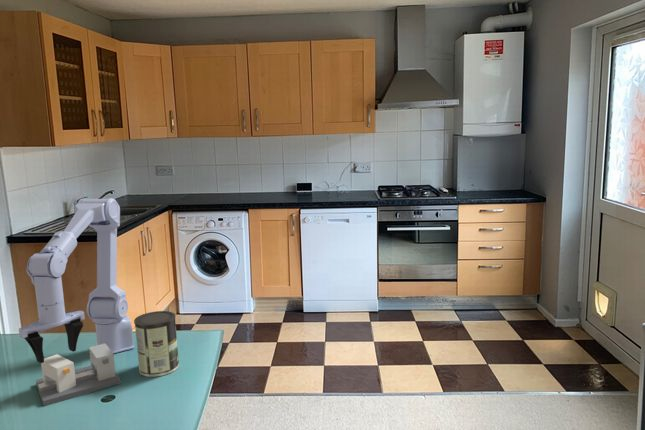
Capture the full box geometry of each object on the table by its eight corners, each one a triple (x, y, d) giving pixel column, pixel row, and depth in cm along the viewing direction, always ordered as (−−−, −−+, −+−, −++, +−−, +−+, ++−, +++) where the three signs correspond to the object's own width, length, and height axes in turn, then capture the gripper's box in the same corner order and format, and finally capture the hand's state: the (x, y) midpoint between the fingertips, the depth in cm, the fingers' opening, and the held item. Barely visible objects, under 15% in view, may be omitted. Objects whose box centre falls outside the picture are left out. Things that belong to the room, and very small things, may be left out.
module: (59, 376, 130) (57, 354, 129) (77, 386, 124) (74, 363, 123) (43, 382, 126) (40, 359, 126) (60, 393, 121) (58, 369, 120)
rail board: (107, 365, 138) (105, 340, 137) (120, 383, 127) (117, 356, 126) (36, 384, 128) (33, 357, 127) (43, 405, 118) (40, 376, 117)
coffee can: (166, 356, 143) (162, 307, 140) (186, 367, 136) (183, 316, 133) (131, 369, 135) (126, 318, 133) (151, 381, 128) (146, 327, 126)
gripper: (72, 291, 130) (77, 342, 132) (10, 307, 119) (17, 362, 121) (86, 296, 126) (92, 348, 128) (23, 313, 115) (31, 370, 117)
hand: (56, 355), depth 124 cm, fingers open, 7 cm apart
